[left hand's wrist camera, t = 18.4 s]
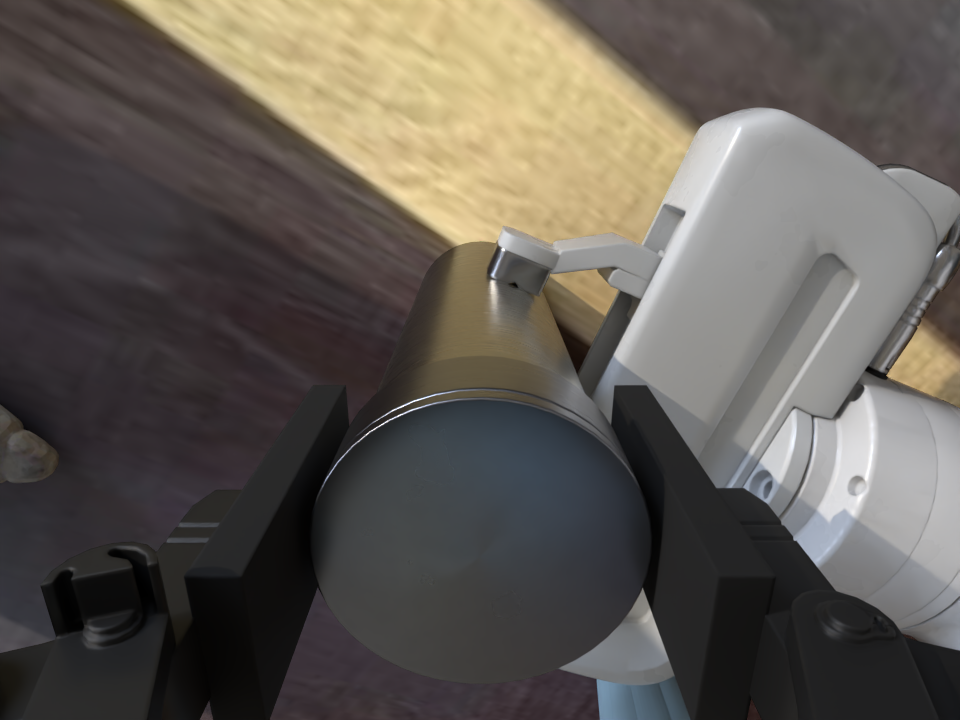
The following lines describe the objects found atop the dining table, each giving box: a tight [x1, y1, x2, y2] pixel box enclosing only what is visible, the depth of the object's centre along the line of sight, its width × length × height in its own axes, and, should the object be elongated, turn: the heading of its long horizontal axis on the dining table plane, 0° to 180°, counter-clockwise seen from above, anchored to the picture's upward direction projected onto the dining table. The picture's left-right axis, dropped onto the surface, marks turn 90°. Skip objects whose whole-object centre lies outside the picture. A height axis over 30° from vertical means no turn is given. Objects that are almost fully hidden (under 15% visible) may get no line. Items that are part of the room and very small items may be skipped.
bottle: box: [376, 242, 584, 394], centre depth 19 cm, size 5×5×16 cm
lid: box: [309, 356, 652, 684], centre depth 11 cm, size 6×6×2 cm
